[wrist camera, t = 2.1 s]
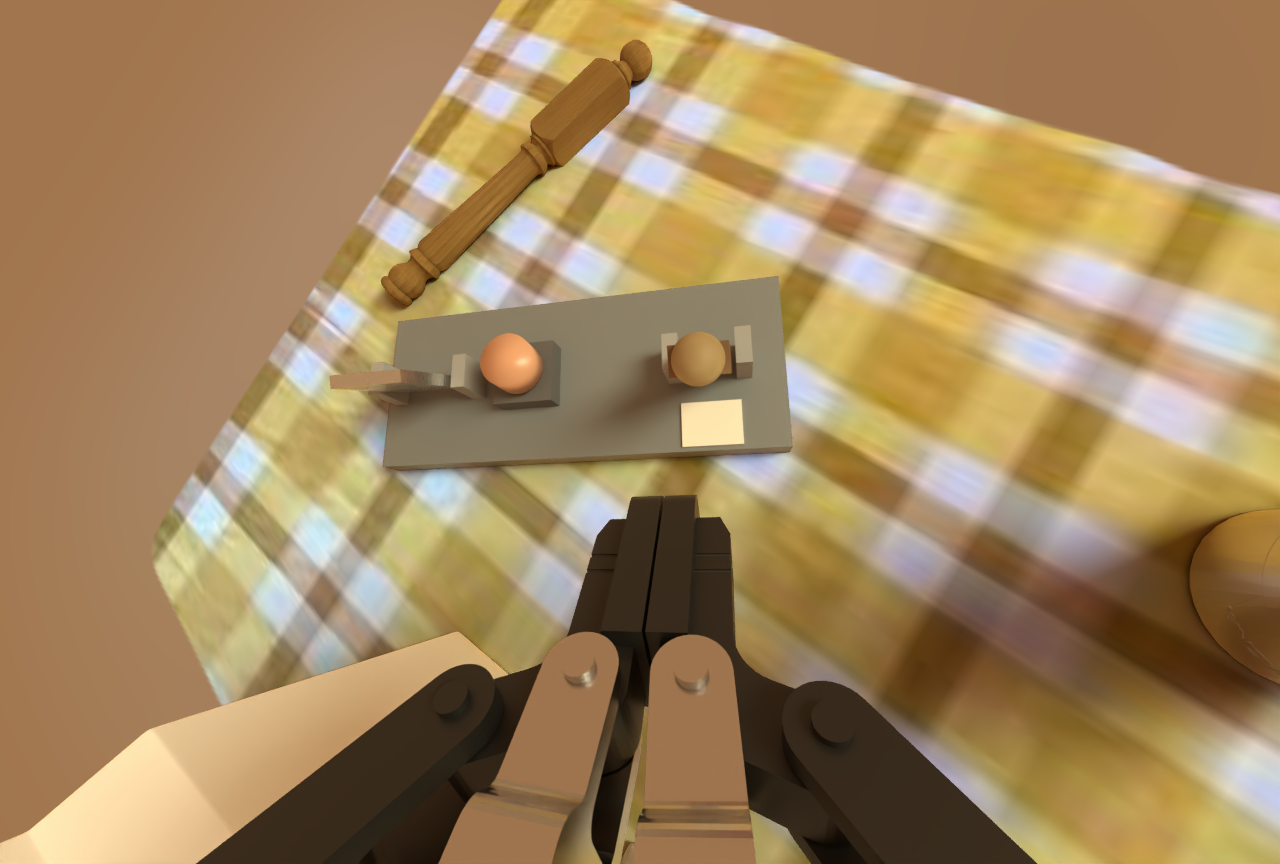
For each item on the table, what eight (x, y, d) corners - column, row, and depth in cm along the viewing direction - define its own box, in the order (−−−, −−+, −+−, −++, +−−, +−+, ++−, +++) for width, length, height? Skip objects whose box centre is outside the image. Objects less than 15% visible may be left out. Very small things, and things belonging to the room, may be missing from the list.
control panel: (789, 451, 32) (797, 436, 28) (400, 470, 38) (351, 460, 34) (776, 290, 35) (781, 251, 30) (414, 331, 41) (371, 304, 36)
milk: (459, 629, 35) (18, 761, 14) (521, 683, 33) (125, 930, 12) (411, 704, 34) (-122, 959, 13) (471, 763, 32) (-33, 1167, 11)
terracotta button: (542, 392, 33) (529, 382, 31) (493, 395, 33) (478, 387, 31) (544, 342, 33) (531, 330, 31) (496, 347, 34) (481, 336, 32)
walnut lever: (732, 379, 32) (731, 384, 22) (687, 382, 32) (665, 390, 22) (730, 339, 32) (727, 326, 21) (684, 344, 32) (661, 333, 22)
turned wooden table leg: (371, 274, 40) (631, 24, 40) (397, 292, 43) (639, 59, 43) (389, 296, 39) (655, 40, 39) (414, 313, 42) (662, 75, 42)
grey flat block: (465, 387, 36) (400, 382, 29) (406, 392, 37) (330, 388, 30) (465, 376, 36) (399, 369, 29) (405, 382, 37) (329, 375, 30)
